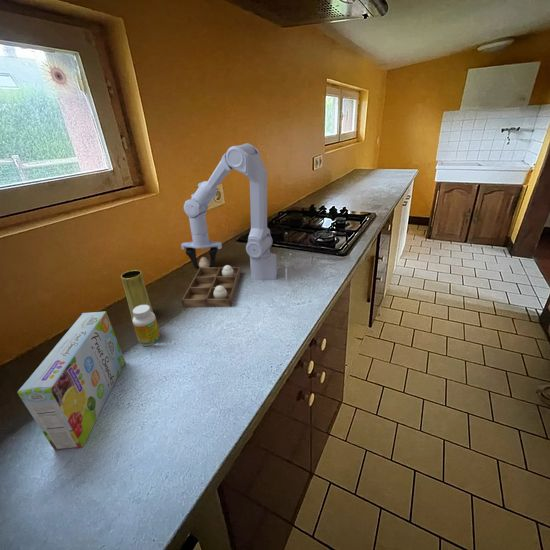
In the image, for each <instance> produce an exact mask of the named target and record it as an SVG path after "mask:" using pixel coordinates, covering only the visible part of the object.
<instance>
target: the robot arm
mask: <svg viewBox="0 0 550 550" xmlns="http://www.w3.org/2000/svg"><path fill="white" fill-rule="evenodd" d="M232 170H235V171H237V172H239V173H241V174H242V175H244V176H245V177H246V178H248V179H249V196H250V197H249V199H250V200H249V202H250V204H249V205H250V232H249V234H248V237H247V243H246V245H245V251H246V253H247V255H248V256H249V261H250V262H249V265H250V277H251V279H253V280H254V281H266V280H277V275H278V270H279V269H278V266H277V264H278V263H277V254H276V253H272V252H271V250H270V248H271V247H272V245H273V241H274V240H273V238H272V236H271V230H270V228H269V227H268V170H267V168H266V166H265V165H264V163H263V160H262V158H261V155H260V150H258V148H257V147H255V146H254V145H252V144H250V143H248V142H247V143H243V144H239V145H233V146H230V147H229V148H228V149H227V151H226V153H224V154H223V155H222V157H221V159H220V161H219V163H218V164H217V165H216V167H215V169H214V170H213V172H212V174H211V175H210V177H209V178H208V180H204V181H202V182H199V183H198V184H197V187H198V188H197V189H196V190H195V192H194V193H191V195H190V197H191V198H190V199H187V200H185V201H184V204H183V211H184V213H185V214H186V215H187V217H188V220H189V227H190V233H191V238H192V241H188V242H182V243H181V244H180V249H181V250H185V254H186V255H187V257H188V258H189V259H190V262H192V265H193V267H194V268H197V267H198V260H197V259H198V258H197V253H196V252H197V250H196V249H198V250H199V249H209V250H208V253H209V256H210V266H211V267H215V265H216V263H215V262H216V257H217V253H218V250H221V249H222V247H223V244H222V242H221V241H212V240H210V238H209V231H208V223H207V217H206V216H207V210H208V208H209V204H210V203H211V201H213V199H214V198H215V197H216V195H217V194H218V189H217V188H218V186H219V185H220V184H221V182H222V181H224V179H225V178H226V177H227V175H228V174H229V173H230V172H231V171H232Z"/></svg>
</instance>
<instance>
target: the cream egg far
mask: <svg viewBox="0 0 550 550" xmlns="http://www.w3.org/2000/svg"><path fill="white" fill-rule="evenodd" d="M222 267H223V270H222V275H223V276H233V275H234V270H233V269H232V267H233V266H231V265H229V264H226V265H224V266H222Z"/></svg>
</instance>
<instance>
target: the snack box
mask: <svg viewBox="0 0 550 550" xmlns="http://www.w3.org/2000/svg"><path fill="white" fill-rule="evenodd" d="M125 363H126V360H125V358H124V355H123V352H122V350H121V348H120V345H119V343H118V339H117V337H116V334H115V332H114V328H113V326H112V323H111V321H110V318H109V314H108V313H107V311H106V310H105V311H95V312H94V311H93V312H82V313H81V315H80V316H79V317H78V318H77V320H76V321H74V323H73V325H72V326H71V327H70V328H69V329H68V331H67V332H66V333H65V334H64V335H63V336H62V338H60V340H59V341H58V342H57V343H56V345H55V346H54V347H53V349H52V350H51V351H50V352H49V353H48V355H47V356H46V357H45V358H44V359H43V360H42V361H41V363H40V364H39V366H38V367H37V368H36V369H35V370H34V372H33V373H31V375H30V376H29V378H27V380H26V381H25V382H24V383H23V384H22V386H21V387H20V388H19V389H18V390H17V395H18V396H19V397H20V400H21V401H22V402H23V404H24V405H25V408H27V411H28V412H29V413H30V414H31V416H32V418H33V419H34V421H35V422H36V424H37V426H38V427H39V429H40V431H41V432H42V433H43V435H44V437H45V438H46V439H47V442H48V443H49V444H50V446H51V447H52V449H53V450H54V451H58V450H67V449H77V448H78V449H79V448H83V447H85V445H86V442H87V440H88V437H89V435H90V433H91V431H92V429H93V428H94V425H95V423H96V421H97V420H98V418H99V415H100V413H101V412H102V409H103V408H104V405H105V403H106V402H107V400H108V397H109V395H110V393H111V392H112V389H113V387H114V385H115V383H116V381H117V380H118V377H119V375H120V374H121V371H122V369H123V368H124V366H125Z"/></svg>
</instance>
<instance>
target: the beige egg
mask: <svg viewBox="0 0 550 550" xmlns="http://www.w3.org/2000/svg"><path fill="white" fill-rule="evenodd" d="M210 266H211V261H210V260H209V259H208V258H207V257H205V256H202V257H201V258H200V259H199V261H198V267H199V268H200V267H210Z"/></svg>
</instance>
